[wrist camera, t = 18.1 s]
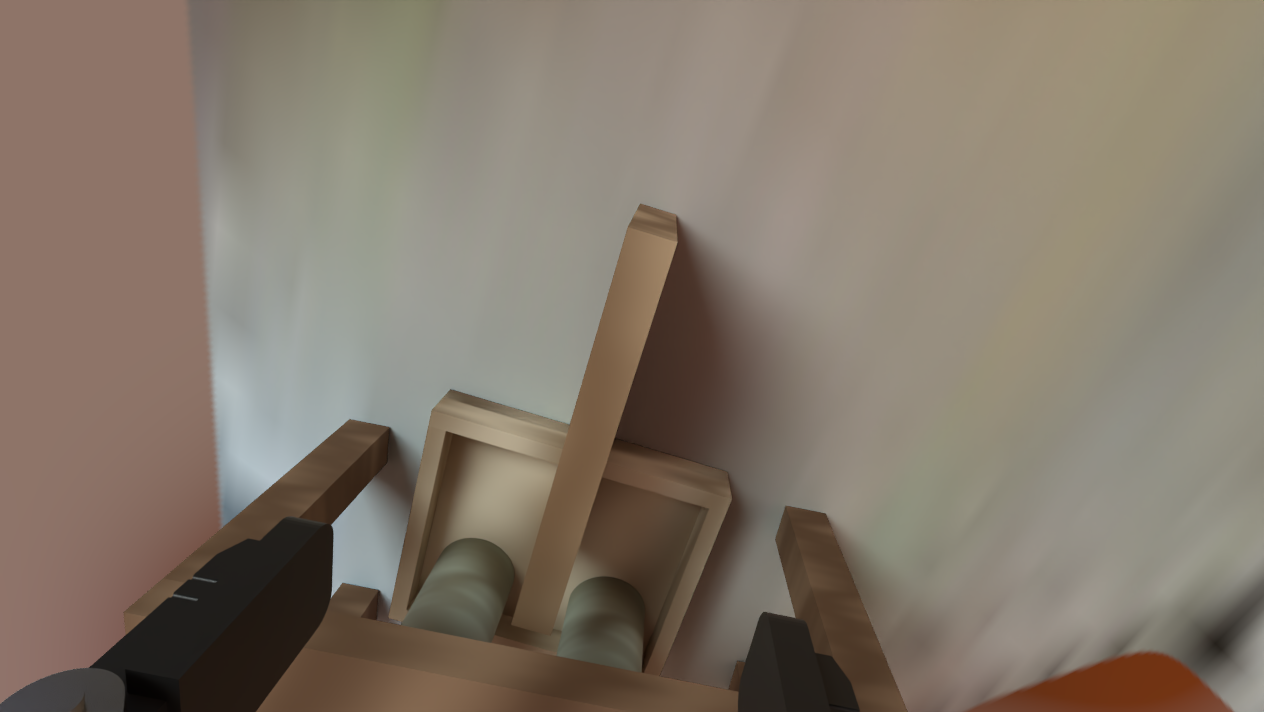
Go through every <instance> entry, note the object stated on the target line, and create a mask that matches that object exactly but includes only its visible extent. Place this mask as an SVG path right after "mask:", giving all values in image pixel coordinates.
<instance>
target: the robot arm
mask: <svg viewBox="0 0 1264 712" xmlns="http://www.w3.org/2000/svg"><path fill="white" fill-rule="evenodd" d="M332 565H333V528H332V526H331V525H330V524H327V523H322V522H317V521H312V520H307V519H302V518H297V517H292V516H288V517H285V518H283V519H282V520H281V521H280V522H279V523H278V524H277V525H276V526H275V527H273V528H272V529H271V530H270V531H269V532H268V533H267V534H266V535H265V536H264V537H263V538H262V539H261V540H260V541H259V540H254V539H249V538H248V539H246V540H244V541H242V542H240V543H238V544H236V545H234V546H232V547H230V548H228V549H226V550H224V551H222V552H220V553H218V554H216V555H215V556H214V557H213V558H212V559H211V560H210V561H208V562H207V563H206V564H205V565H204V566H203V567H202V568H201V569H199V570H198V571H197V572H196V573H195V574H194V575H193V578H192V579H191V580H190V579H188V580H187V581H186V582H185V583H184V584H183V585H181V586H180V587H179V588H178V589H177V590H176V591H175V592H174V593H173V596H172V597H171V598H170V597H168V598H167V599H166V600H165V601H164V602H162V603H161V604H160V605H159V606H158V607H157V608H156V609H155V610H153V611H152V612H151V613H150V614H149V615H148V616H147V617H146V618H144V619H143V620H142V621H141V622H140V623H139V624H138V625H137V626H135V627H134V628H133V629H132V630H131V631H130V632H129V633H128V634H126V635H125V636H124V637H123V638H122V639H121V640H120V641H119V642H118V643H116V645H114V646H113V647H112V648H111V649H110V650H109V651H107V652H106V653H105V654H104V655H103V656H102V657H101V658H100V659H98V660H97V661H96V662H95V663H94V664H93V665H92V666H90V667H89V668H80V669H73V670H68V671H63V672H60V673H56V674H53V675H50V676H47V677H45V678H42V679H40V680H38V681H35V682H33V683H31V684H29V685H27V686H25V687H24V688H22V689H20V690H19V691H17V692H16V693H14V694H13V695H11V696H10V697H8V698H7V699H6V700H4V701H3V702H2V703H1V704H0V712H256V711H257V710H258V708H259V707H260V706H261V704H262V703H263V701H264V700H265V699H266V697H267V696H268V695H269V693H270V692H271V691H272V689H273V688H274V687H275V685H276V684H277V683H278V681H279V680H280V679H281V677H282V676H283V675H284V673H285V672H286V670H287V669H288V668H289V666H290V665H291V664H292V662H293V661H294V660H295V658H296V657H297V656H298V654H299V653H300V652H301V650H302V649H303V648H304V646H305V645H306V643H307V642H308V641H309V639H310V638H311V637H312V635H313V634H314V633H315V631H316V630H317V629H318V627H319V626H320V624H321V622H322V620H323V618H324V616H325V614H326V611H327V609H328V606H329V603H330V598H331V592H332ZM738 712H860V709H859V706H858V702H857V699H856V696H855V693H854V690H853V687H852V684H851V682H850V680H849V679H848V678H847V676H846V675H845V673H844V672H843V671H842V669H841V668H840V667H839V665H838V664H837V663H836V661H835V660H834V659H833V657H832V656H829V655H824V654H819V653H815V651H814V647H813V643H812V640H811V636H810V632H809V629H808V626H807V623H806V622H805V620H802V619H797V618H792V617H787V616H782V615H777V614H772V613H767V612H763V613H762V614H761V616H760V618H759V621H758V624H757V627H756V630H755V633H754V637H753V640H752V643H751V646H750V649H749V653H748V656H747V659H746V662H745V665H744V669H743V672H742V675H741V679H740V685H739V693H738Z"/></svg>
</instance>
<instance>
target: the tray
mask: <svg viewBox="0 0 1264 712" xmlns="http://www.w3.org/2000/svg"><path fill="white" fill-rule="evenodd" d="M677 243H678V240H677V224H676V215H675V214H672V213H668V212H665V211H662V210H659V209H656V208H653V207H649V206H646V205H643V204H640V205H639V207H638V209H637V211H636V213H635V215H634V217H633V218H632V220H631V222H630V224H629V226H628V228H627V232H626V235H625V239H624V242H623V245H622V249H621V252H620V256H619V259H618V262H617V266H616V269H615V273H614V276H613V280H612V283H611V286H610V290H609V293H608V297H607V300H606V303H605V307H604V310H603V314H602V317H601V320H600V324H599V327H598V331H597V334H596V337H595V341H594V344H593V348H592V351H591V354H590V358H589V361H588V365H587V368H586V371H585V375H584V378H583V382H582V385H581V388H580V392H579V395H578V399H577V402H576V405H575V409H574V412H573V416H572V419H571V423H570V425H568V424H565V423H562V422H558V421H555V420H552V419H548V418H545V417H542V416H538V415H535V414H531V413H528V412H525V411H521V410H518V409H515V408H511V407H508V406H505V405H501V404H498V403H495V402H491V401H488V400H485V399H481V398H478V397H474V396H471V395H468V394H464V393H461V392H458V391H454V390H451V389H450V391H449V392H448V393H447V394H446V395H445V396H444V397H443V398H442V399H441V401H440V402H439V403H438V404H437V405H436V406H435V407H434V408H433V409H432V411H431V416H430V421H429V426H428V430H427V435H426V440H425V445H424V449H423V454H422V459H421V464H420V469H419V473H418V478H417V483H416V488H415V492H414V497H413V502H412V507H411V511H410V516H409V521H408V526H407V531H406V535H405V540H404V545H403V550H402V554H401V559H400V564H399V569H398V573H397V578H396V583H395V588H394V592H393V597H392V602H391V607H390V612H389V616H388V618H390V619H394V620H397V621H401V622H402V624H401V625H402V626H407V627H412V628H417V629H423V630H428V631H433V632H438V633H443V634H448V635H453V636H458V637H463V638H468V639H473V640H478V641H483V642H488V643H494V644H499V645H504V646H509V647H514V648H519V649H524V650H529V651H534V652H539V653H544V654H549V655H554V656H559V657H565V658H570V659H575V660H580V661H585V662H590V663H595V664H600V665H605V666H610V667H615V668H620V669H625V670H630V671H636V672H641V673H646V674H651V675H656V676H660V674H661V672H662V669H663V667H664V664H665V662H666V660H667V657H668V655H669V652H670V650H671V647H672V645H673V642H674V640H675V638H676V635H677V633H678V630H679V628H680V625H681V623H682V620H683V618H684V615H685V613H686V611H687V608H688V606H689V603H690V601H691V598H692V596H693V593H694V591H695V589H696V586H697V584H698V581H699V579H700V576H701V574H702V571H703V569H704V567H705V564H706V562H707V559H708V557H709V554H710V552H711V549H712V547H713V544H714V542H715V540H716V537H717V535H718V532H719V530H720V527H721V525H722V522H723V520H724V518H725V515H726V513H727V510H728V508H729V505H730V503H731V500H732V497H731V491H730V485H729V479H728V473H727V472H726V471H723V470H719V469H716V468H713V467H709V466H706V465H702V464H699V463H696V462H692V461H689V460H686V459H682V458H679V457H676V456H672V455H669V454H666V453H662V452H659V451H656V450H652V449H649V448H645V447H642V446H639V445H635V444H632V443H629V442H625V441H622V440H619V439H615V435H616V432H617V429H618V426H619V422H620V419H621V416H622V413H623V410H624V407H625V404H626V401H627V398H628V395H629V392H630V388H631V385H632V382H633V379H634V376H635V373H636V370H637V367H638V364H639V361H640V357H641V354H642V351H643V348H644V345H645V342H646V339H647V336H648V333H649V330H650V326H651V323H652V320H653V317H654V314H655V311H656V308H657V305H658V302H659V299H660V295H661V292H662V289H663V286H664V283H665V280H666V277H667V274H668V271H669V268H670V264H671V261H672V258H673V255H674V252H675V249H676V246H677Z"/></svg>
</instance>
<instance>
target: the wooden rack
mask: <svg viewBox="0 0 1264 712" xmlns="http://www.w3.org/2000/svg"><path fill="white" fill-rule="evenodd" d="M388 441H389V427H386V426H381V425H376V424H371V423H366V422H361V421H356V420H351V419H349V420H348V421H347V422H346V423H345V424H344V425H342V426H341V427H340V428H339V429H338V430H337V431H335V432H334V433H333V434H332V435H331V436H330V437H328V438H327V439H326V440H325V441H324V442H322V443H321V444H320V445H319V446H318V447H317V448H315V449H314V450H313V451H312V452H311V453H310V454H308V455H307V456H306V457H305V458H304V459H303V460H301V461H300V462H299V463H298V464H297V465H296V466H294V467H293V468H292V469H291V470H290V471H289V472H287V473H286V474H285V475H284V476H283V477H281V478H280V479H279V480H278V481H277V482H276V483H274V484H273V485H272V486H271V487H270V488H269V489H267V490H266V491H265V492H264V493H263V494H262V495H260V496H259V497H258V498H257V499H256V500H255V501H253V502H252V503H251V504H250V505H249V506H247V507H246V508H245V509H244V510H243V511H242V512H240V513H239V514H238V515H237V516H236V517H235V518H233V519H232V520H231V521H230V522H229V523H228V524H226V525H225V526H224V527H223V528H222V529H221V530H219V531H218V532H217V533H216V534H215V535H214V536H212V537H211V538H210V539H209V540H208V541H207V542H205V543H204V544H203V545H202V546H201V547H200V548H198V549H197V550H196V551H195V552H194V553H192V554H191V555H190V556H189V557H188V558H187V559H185V560H184V561H183V562H182V563H181V564H180V565H179V566H177V567H176V568H175V569H174V570H173V571H171V573H169V574H168V575H167V576H166V577H164V578H163V579H162V580H161V581H160V582H158V583H157V584H156V585H155V586H154V587H153V588H151V589H150V590H149V591H148V592H147V593H146V594H144V595H143V596H142V597H141V598H140V599H138V600H137V601H136V602H135V603H134V604H133V605H131V606H130V607H129V608H128V609H127V610H126V611H124V622H125V632H126V634H128V633H129V632H130V631H131V630H132V629H133V628H134V627H135V626H137V625H138V624H139V623H140V622H141V621H142V620H143V619H144V618H146V617H147V616H148V615H149V614H150V613H151V612H152V611H153V610H155V609H156V608H157V607H158V606H159V605H160V604H161V603H162V602H164V601H165V600H166V599H167V598H168V597H170V598H171V597H172V596H173V593H174V592H175V591H176V590H177V589H178V588H179V587H180V586H181V585H183V584H184V583H185V582H186V581H187V580H188V579H190V580H191V579H192V578H193V575H194V574H195V573H196V572H197V571H198V570H199V569H201V568H202V567H203V566H204V565H205V564H206V563H207V562H208V561H210V560H211V559H212V558H213V557H214V556H215V555H216V554H218V553H220V552H222V551H224V550H226V549H228V548H230V547H232V546H234V545H236V544H238V543H240V542H242V541H244V540H246V539H248V538H249V539H254V540H259V541H260V540H261V539H262V538H263V537H264V536H265V535H266V534H267V533H268V532H269V531H270V530H271V529H272V528H273V527H275V526H276V525H277V524H278V523H279V522H280V521H281V520H282V519H283V518H285V517H288V516H292V517H297V518H302V519H307V520H312V521H317V522H322V523H327V524H330V525H331V524H332V523H333V522H334V521H335V520H336V519H337V518H338V517H339V516H340V514H341V513H342V512H343V511H344V510H345V509H346V508H347V507H348V505H349V504H350V503H351V502H352V501H353V500H354V499H355V498H356V497H357V495H358V494H359V493H360V492H361V491H362V490H363V489H364V488H365V487H366V485H367V484H368V483H369V482H370V481H371V480H372V479H373V478H374V476H375V475H376V474H377V473H378V472H379V471H380V470H381V469H382V468H383V466H384V465H385V464H386V463H387V456H388ZM775 540H776V544H777V548H778V552H779V555H780V559H781V563H782V567H783V571H784V575H785V578H786V582H787V586H788V590H789V594H790V597H791V601H792V605H793V609H794V613H795V617H796V618H797V619H802V620H805V622H806V623H807V626H808V629H809V632H810V636H811V640H812V643H813V647H814V651H815V653H819V654H824V655H829V656H832V657H833V659H834V660H835V661H836V663H837V664H838V665H839V667H840V668H841V669H842V671H843V672H844V673H845V675H846V676H847V678H848V679H849V680H850V682H851V684H852V687H853V690H854V693H855V696H856V699H857V702H858V706H859V709H860V712H908V711H907V709H906V707H905V704H904V702H903V699H902V697H901V695H900V692H899V690H898V687H897V685H896V682H895V680H894V678H893V675H892V673H891V670H890V668H889V666H888V663H887V661H886V658H885V656H884V654H883V651H882V649H881V646H880V644H879V642H878V639H877V637H876V634H875V632H874V630H873V627H872V625H871V622H870V620H869V618H868V615H867V613H866V610H865V608H864V605H863V603H862V601H861V598H860V596H859V593H858V591H857V589H856V586H855V584H854V581H853V579H852V577H851V574H850V572H849V569H848V567H847V565H846V562H845V560H844V557H843V555H842V553H841V550H840V548H839V545H838V543H837V541H836V538H835V536H834V533H833V531H832V528H831V526H830V524H829V521H828V519H827V516H826V514H825V513H820V512H815V511H810V510H805V509H800V508H794V507H789V506H786V507H785V510H784V513H783V516H782V519H781V523H780V526H779V529H778V532H777V535H776V539H775ZM377 605H378V590H375V589H370V588H365V587H360V586H355V585H350V584H345V583H342V584H341V586H340V587H339V588H338V590H337V591H336V592H335V594H334V595H333V596H332V598H331V599H330V603H329V606H328V609H327V611H326V614H325V616H324V618H323V620H322V622H321V624H320V626H319V627H318V629H317V630H316V631H315V633H314V634H313V635H312V637H311V638H310V639H309V641H308V642H307V643H306V645H305V646H304V648H303V649H302V650H301V652H300V653H299V654H298V656H297V657H296V658H295V660H294V661H293V662H292V664H291V665H290V666H289V668H288V669H287V670H286V672H285V673H284V675H283V676H282V677H281V679H280V680H279V681H278V683H277V684H276V685H275V687H274V688H273V689H272V691H271V692H270V693H269V695H268V696H267V697H266V699H265V700H264V701H263V703H262V704H261V706H260V707H259V708H258V710H257V711H256V712H738V693H739V685H740V679H741V675H742V672H743V669H744V665H745V662H740V661H737V663H736V667H735V670H734V673H733V676H732V679H731V683H730V686H729V690H727V689H722V688H717V687H712V686H707V685H701V684H696V683H691V682H686V681H681V680H676V679H671V678H666V677H661V676H656V675H651V674H646V673H641V672H636V671H630V670H625V669H620V668H615V667H610V666H605V665H600V664H595V663H590V662H585V661H580V660H575V659H570V658H565V657H559V656H554V655H549V654H544V653H539V652H534V651H529V650H524V649H519V648H514V647H509V646H504V645H499V644H494V643H488V642H483V641H478V640H473V639H468V638H463V637H458V636H453V635H448V634H443V633H438V632H433V631H428V630H423V629H417V628H412V627H407V626H402V625H397V624H392V623H387V622H382V621H377V620H376V619H377Z"/></svg>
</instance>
